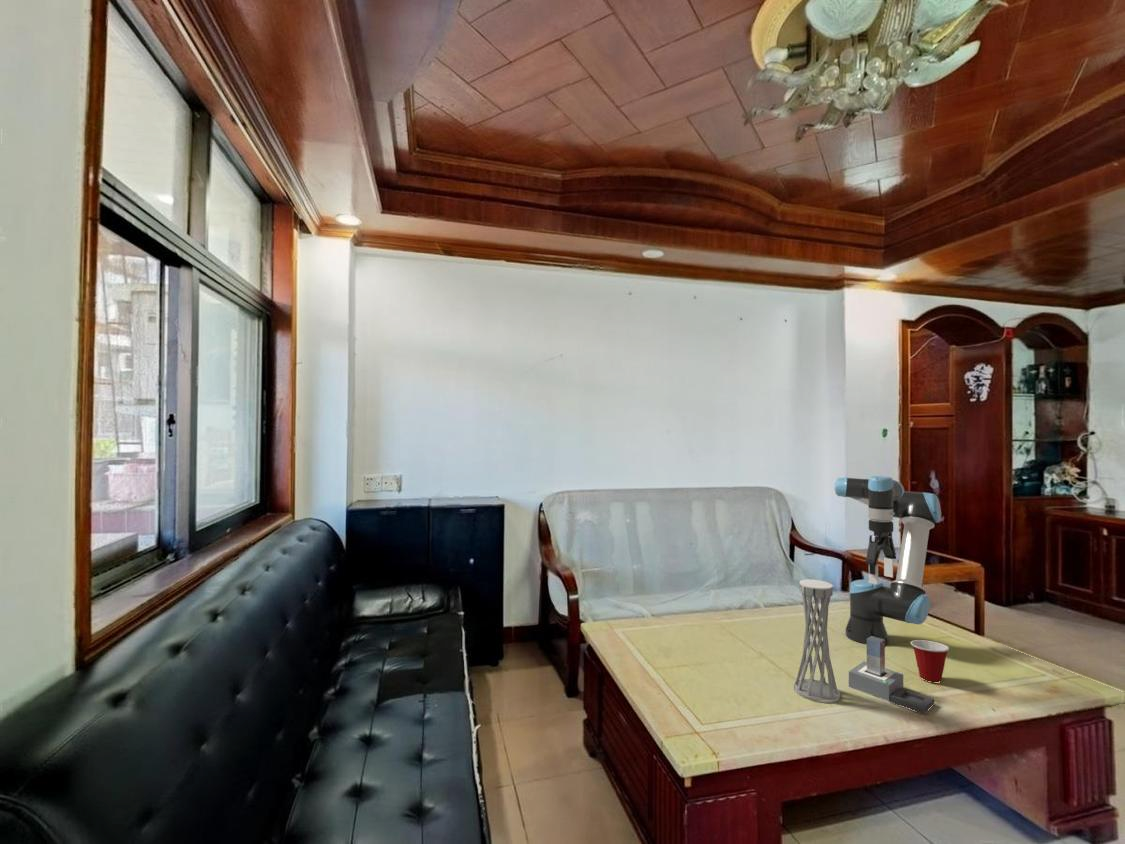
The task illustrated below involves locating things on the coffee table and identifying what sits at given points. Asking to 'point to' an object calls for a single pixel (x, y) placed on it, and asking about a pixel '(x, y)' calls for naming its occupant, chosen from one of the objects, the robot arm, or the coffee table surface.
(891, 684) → the port
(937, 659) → the plastic cup
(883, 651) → the plug
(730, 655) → the coffee table surface
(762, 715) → the coffee table surface
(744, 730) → the coffee table surface
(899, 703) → the dark grey slot tray
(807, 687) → the grey tall lattice tower
